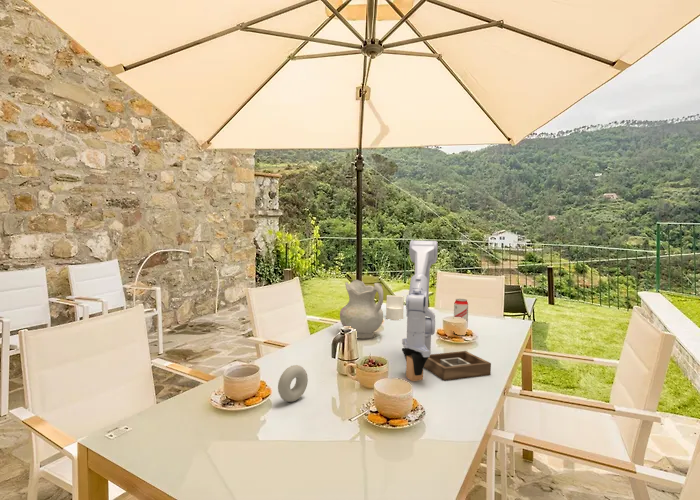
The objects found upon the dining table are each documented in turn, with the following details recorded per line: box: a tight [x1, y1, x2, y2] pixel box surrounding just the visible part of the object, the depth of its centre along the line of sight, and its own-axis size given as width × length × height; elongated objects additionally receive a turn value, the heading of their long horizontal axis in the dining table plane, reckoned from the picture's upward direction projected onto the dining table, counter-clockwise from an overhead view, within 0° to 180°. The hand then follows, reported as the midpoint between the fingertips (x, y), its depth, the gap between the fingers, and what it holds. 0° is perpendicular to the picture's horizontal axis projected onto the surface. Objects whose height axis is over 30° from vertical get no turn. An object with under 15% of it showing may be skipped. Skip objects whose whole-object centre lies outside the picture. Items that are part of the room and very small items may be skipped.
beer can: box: [453, 298, 469, 327], centre depth 189 cm, size 6×6×16 cm
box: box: [423, 350, 492, 382], centre depth 142 cm, size 14×18×4 cm
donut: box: [277, 364, 309, 403], centre depth 115 cm, size 10×4×10 cm, turn 140°
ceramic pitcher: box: [339, 279, 384, 340], centre depth 183 cm, size 22×20×25 cm
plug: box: [405, 355, 424, 382], centre depth 134 cm, size 4×4×7 cm
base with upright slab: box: [385, 294, 405, 321], centre depth 219 cm, size 9×9×12 cm
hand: (414, 372), depth 134 cm, fingers closed on plug, 4 cm apart
